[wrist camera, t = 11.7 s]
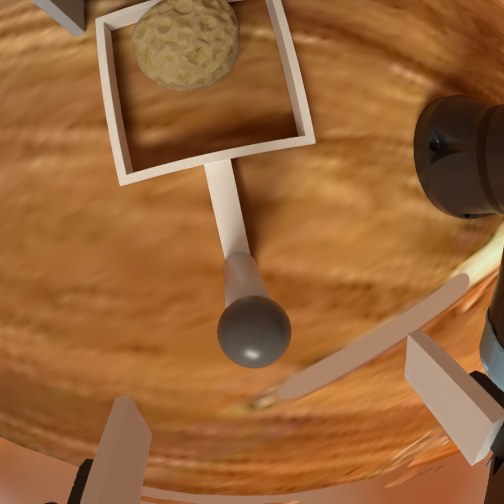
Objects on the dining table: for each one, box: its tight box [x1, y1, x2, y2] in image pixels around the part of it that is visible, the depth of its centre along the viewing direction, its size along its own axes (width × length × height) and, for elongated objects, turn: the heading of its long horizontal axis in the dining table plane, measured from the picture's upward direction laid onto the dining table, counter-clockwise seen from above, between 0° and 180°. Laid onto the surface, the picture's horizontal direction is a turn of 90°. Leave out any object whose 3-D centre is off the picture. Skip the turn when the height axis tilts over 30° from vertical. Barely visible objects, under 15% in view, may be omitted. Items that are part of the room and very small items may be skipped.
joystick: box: [95, 0, 316, 368], centre depth 20 cm, size 30×18×15 cm, turn 11°
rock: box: [132, 0, 240, 91], centre depth 22 cm, size 10×11×10 cm
